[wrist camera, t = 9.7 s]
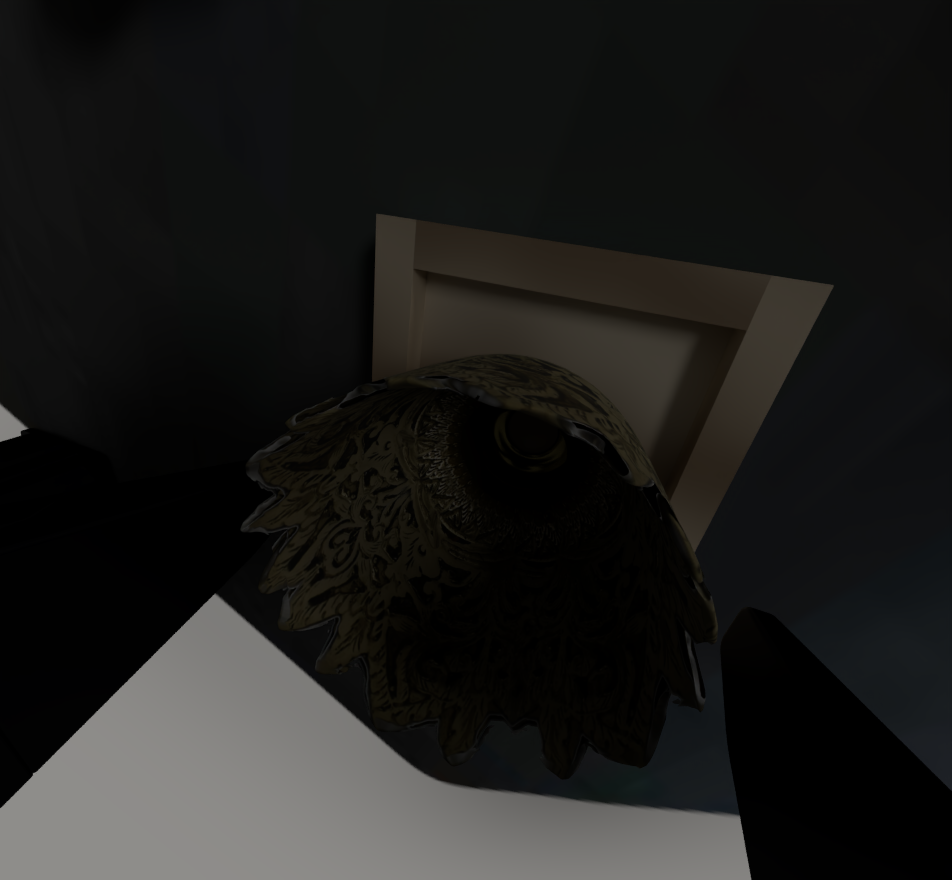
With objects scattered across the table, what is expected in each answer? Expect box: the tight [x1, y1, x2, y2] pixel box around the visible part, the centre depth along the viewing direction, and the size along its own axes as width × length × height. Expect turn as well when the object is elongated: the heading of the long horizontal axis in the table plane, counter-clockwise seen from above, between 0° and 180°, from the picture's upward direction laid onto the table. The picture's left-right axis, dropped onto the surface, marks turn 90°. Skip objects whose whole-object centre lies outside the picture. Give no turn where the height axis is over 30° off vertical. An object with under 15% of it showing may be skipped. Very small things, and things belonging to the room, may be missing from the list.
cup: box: [240, 354, 718, 779], centre depth 9 cm, size 8×7×8 cm
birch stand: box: [372, 214, 834, 552], centre depth 13 cm, size 11×11×2 cm
